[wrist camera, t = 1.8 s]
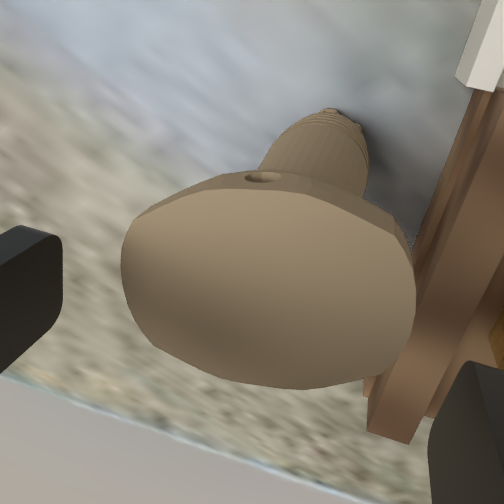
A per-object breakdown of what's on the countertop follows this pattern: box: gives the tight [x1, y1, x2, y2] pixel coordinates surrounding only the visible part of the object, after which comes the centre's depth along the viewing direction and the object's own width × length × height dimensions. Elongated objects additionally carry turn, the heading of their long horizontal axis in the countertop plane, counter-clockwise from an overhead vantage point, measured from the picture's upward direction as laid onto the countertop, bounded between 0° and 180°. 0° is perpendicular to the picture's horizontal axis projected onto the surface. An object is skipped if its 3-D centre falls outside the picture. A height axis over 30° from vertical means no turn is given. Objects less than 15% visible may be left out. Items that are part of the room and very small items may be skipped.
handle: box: [121, 108, 416, 390], centre depth 17 cm, size 5×6×15 cm
